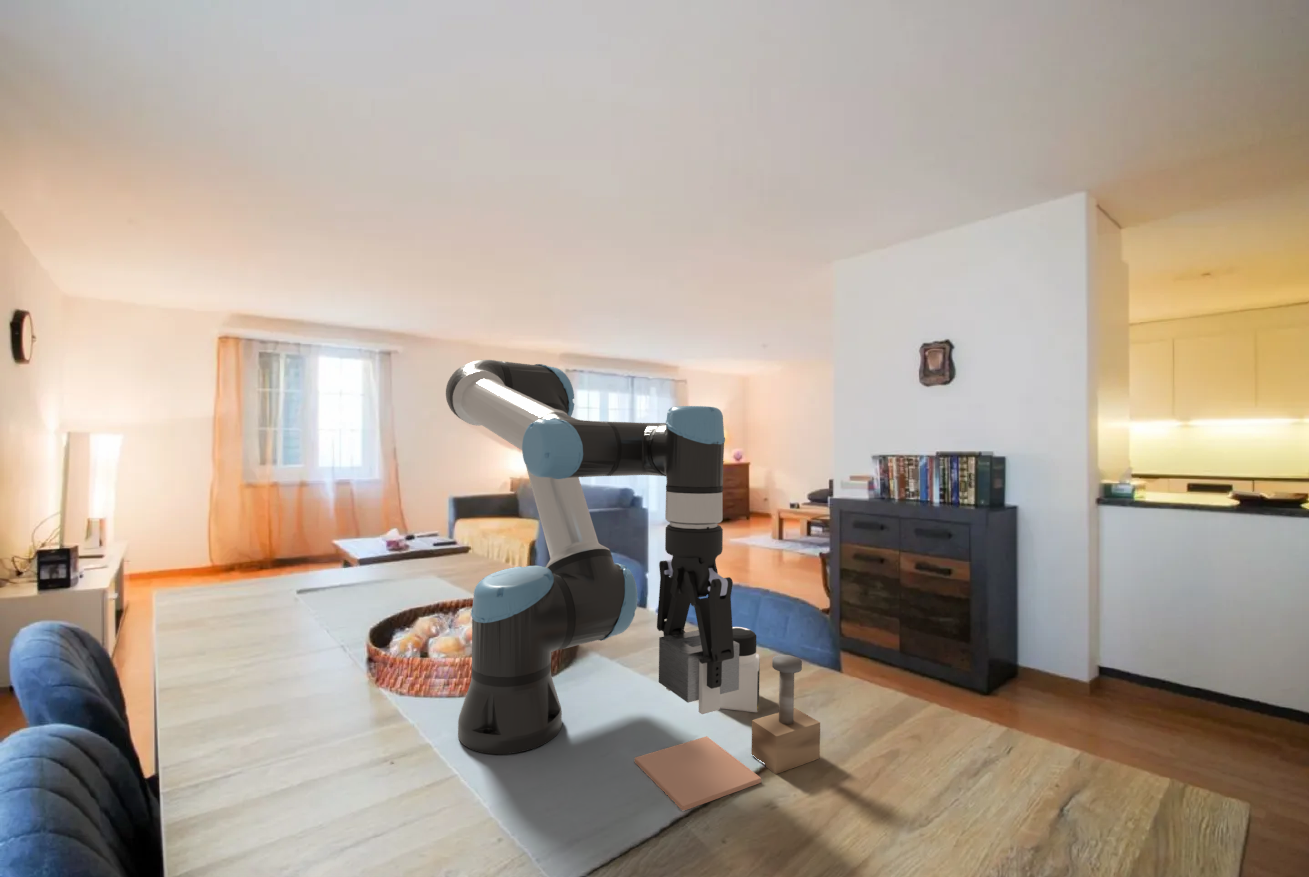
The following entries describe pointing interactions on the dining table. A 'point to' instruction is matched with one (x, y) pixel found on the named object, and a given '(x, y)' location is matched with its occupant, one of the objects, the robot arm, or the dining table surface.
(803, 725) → the knob on wooden block
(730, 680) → the c link
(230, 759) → the dining table surface
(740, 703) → the medicine bottle
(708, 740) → the tile
